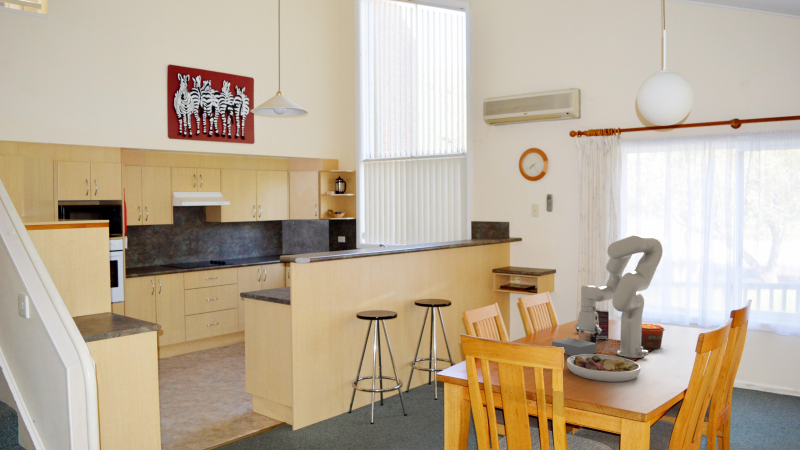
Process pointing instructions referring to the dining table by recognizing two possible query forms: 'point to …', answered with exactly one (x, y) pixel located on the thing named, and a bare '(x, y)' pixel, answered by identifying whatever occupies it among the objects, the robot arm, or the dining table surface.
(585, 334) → the housing
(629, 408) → the dining table surface
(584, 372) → the bowl
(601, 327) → the supplement box
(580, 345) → the stand
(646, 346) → the food container
